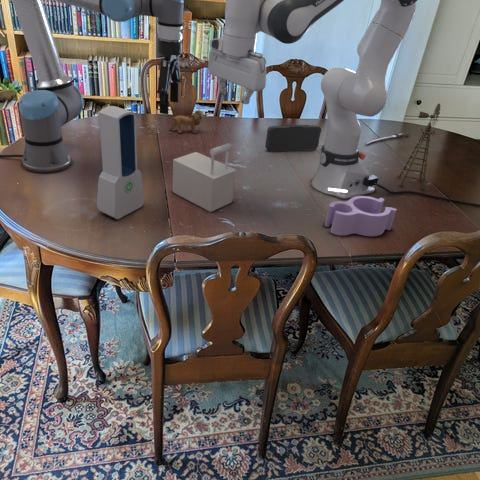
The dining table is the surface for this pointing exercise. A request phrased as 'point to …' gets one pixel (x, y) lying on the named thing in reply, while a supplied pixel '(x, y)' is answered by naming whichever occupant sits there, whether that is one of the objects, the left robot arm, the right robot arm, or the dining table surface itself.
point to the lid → (207, 164)
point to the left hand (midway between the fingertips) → (169, 107)
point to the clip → (359, 216)
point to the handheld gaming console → (292, 137)
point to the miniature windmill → (428, 131)
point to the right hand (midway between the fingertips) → (233, 98)
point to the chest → (202, 189)
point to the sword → (385, 138)
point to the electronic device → (119, 164)
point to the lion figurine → (188, 121)
